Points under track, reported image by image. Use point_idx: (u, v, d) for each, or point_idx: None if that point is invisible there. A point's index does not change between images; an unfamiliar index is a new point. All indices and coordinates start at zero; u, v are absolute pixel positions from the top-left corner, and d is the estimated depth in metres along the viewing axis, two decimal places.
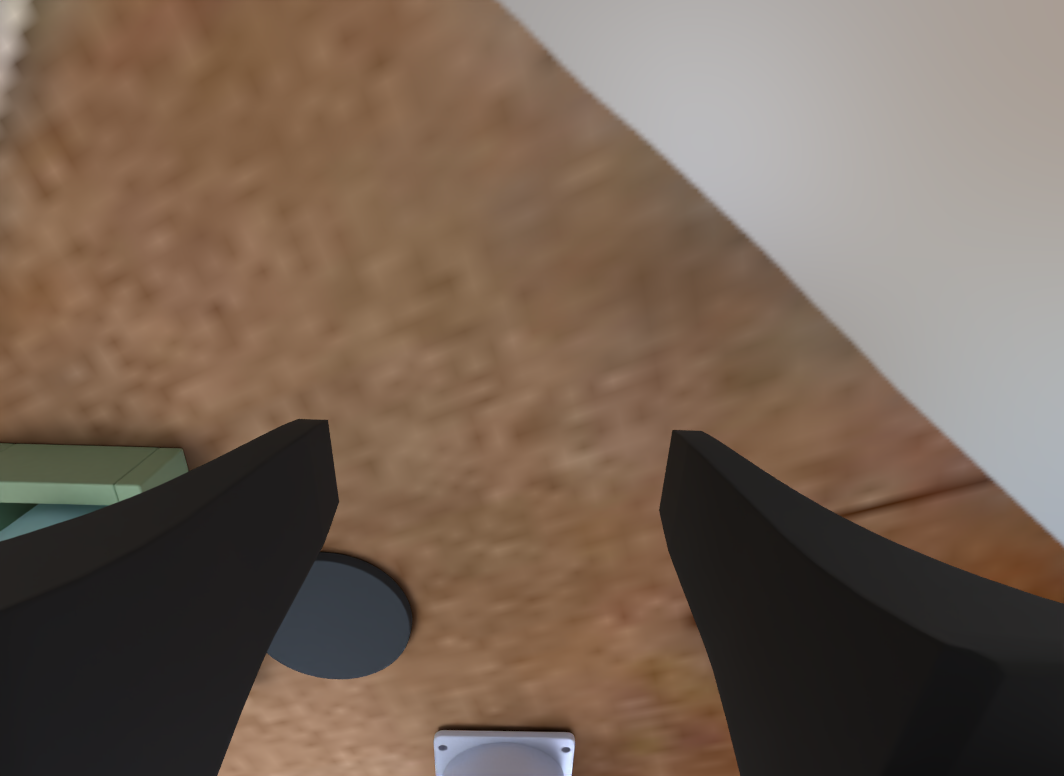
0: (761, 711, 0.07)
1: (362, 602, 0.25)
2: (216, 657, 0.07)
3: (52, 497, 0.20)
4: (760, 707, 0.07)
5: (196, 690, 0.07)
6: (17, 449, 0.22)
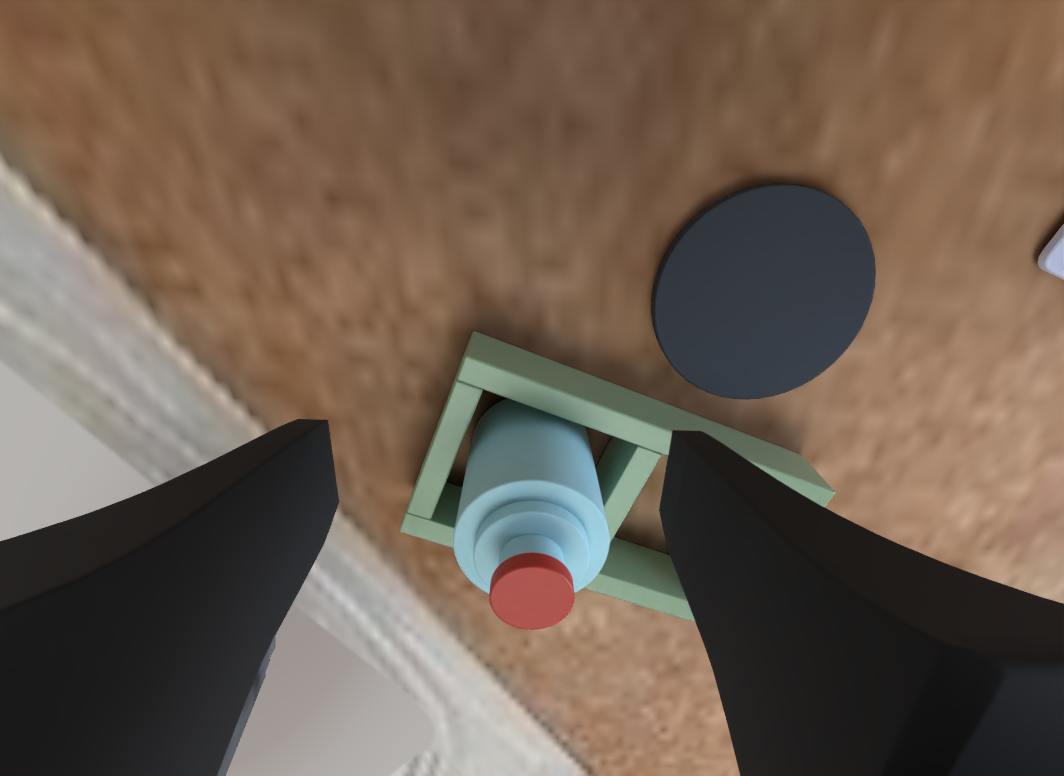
0: (761, 711, 0.07)
1: (756, 238, 0.18)
2: (216, 657, 0.07)
3: (452, 444, 0.19)
4: (760, 707, 0.07)
5: (196, 690, 0.07)
6: None
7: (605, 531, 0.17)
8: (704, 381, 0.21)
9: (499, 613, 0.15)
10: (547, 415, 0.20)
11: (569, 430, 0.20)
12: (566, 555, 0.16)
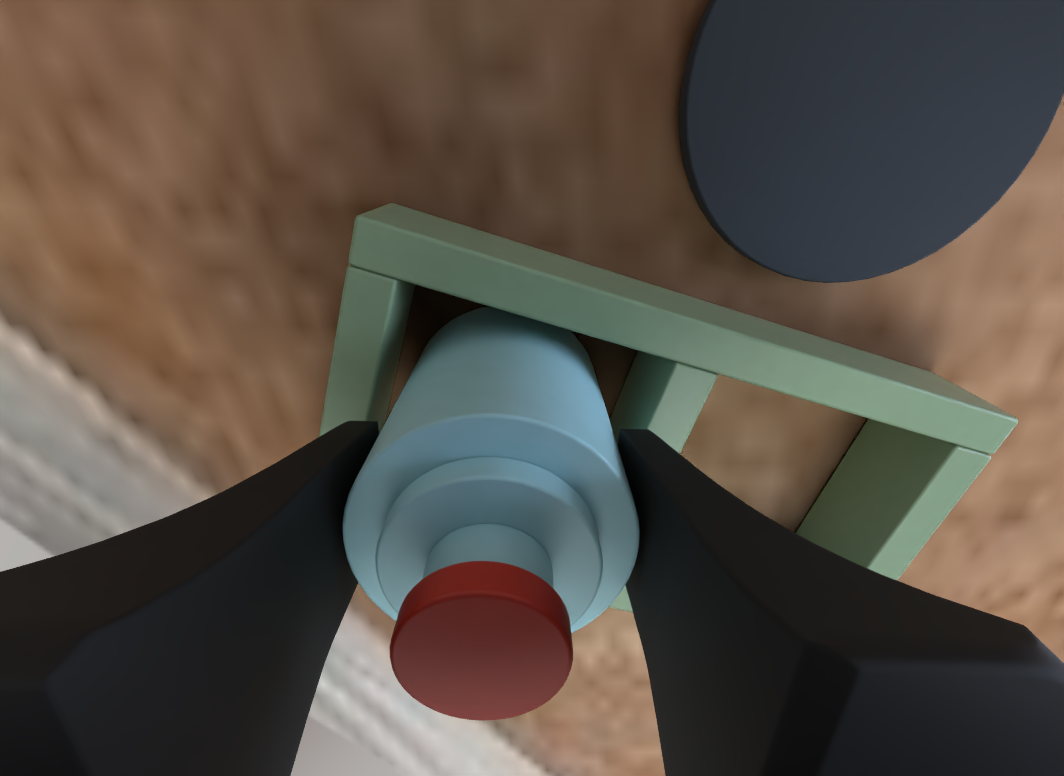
0: (680, 710, 0.07)
1: None
2: (290, 658, 0.07)
3: (360, 383, 0.11)
4: (679, 705, 0.07)
5: (275, 691, 0.07)
6: None
7: (629, 509, 0.09)
8: (776, 255, 0.12)
9: (418, 693, 0.07)
10: (518, 327, 0.12)
11: (557, 347, 0.12)
12: (556, 560, 0.08)
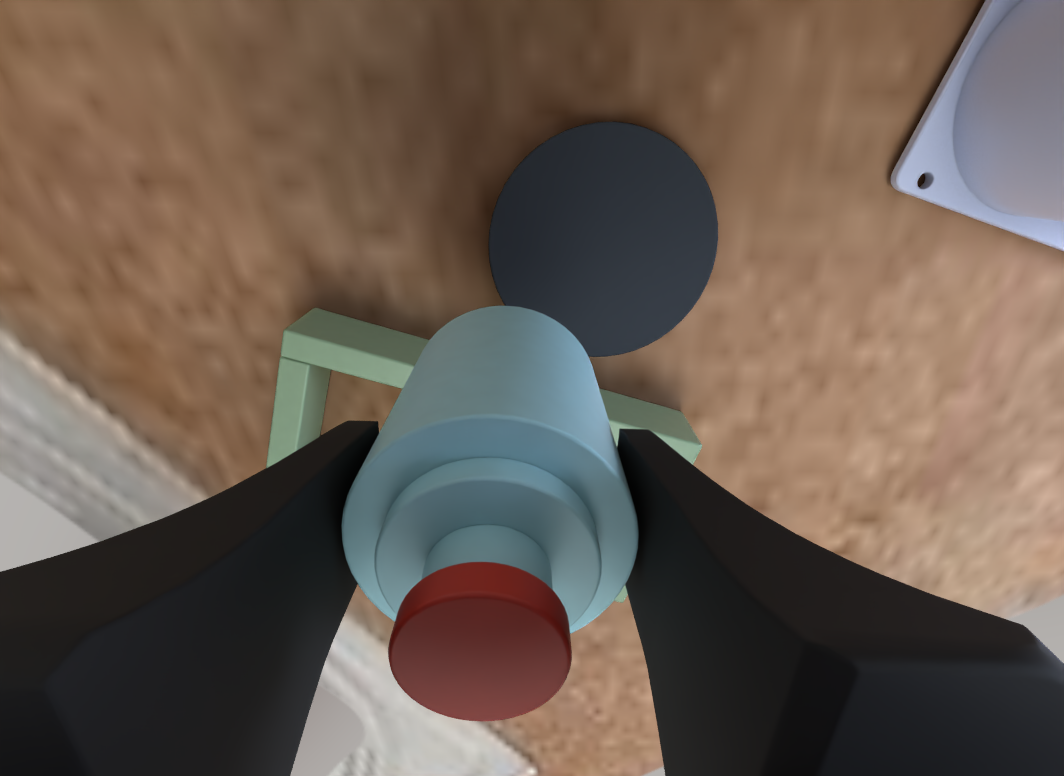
0: (680, 710, 0.07)
1: (581, 183, 0.17)
2: (290, 658, 0.07)
3: (291, 424, 0.19)
4: (679, 705, 0.07)
5: (275, 691, 0.07)
6: None
7: (628, 509, 0.09)
8: None
9: (417, 694, 0.07)
10: (518, 327, 0.12)
11: (556, 347, 0.12)
12: (555, 561, 0.08)
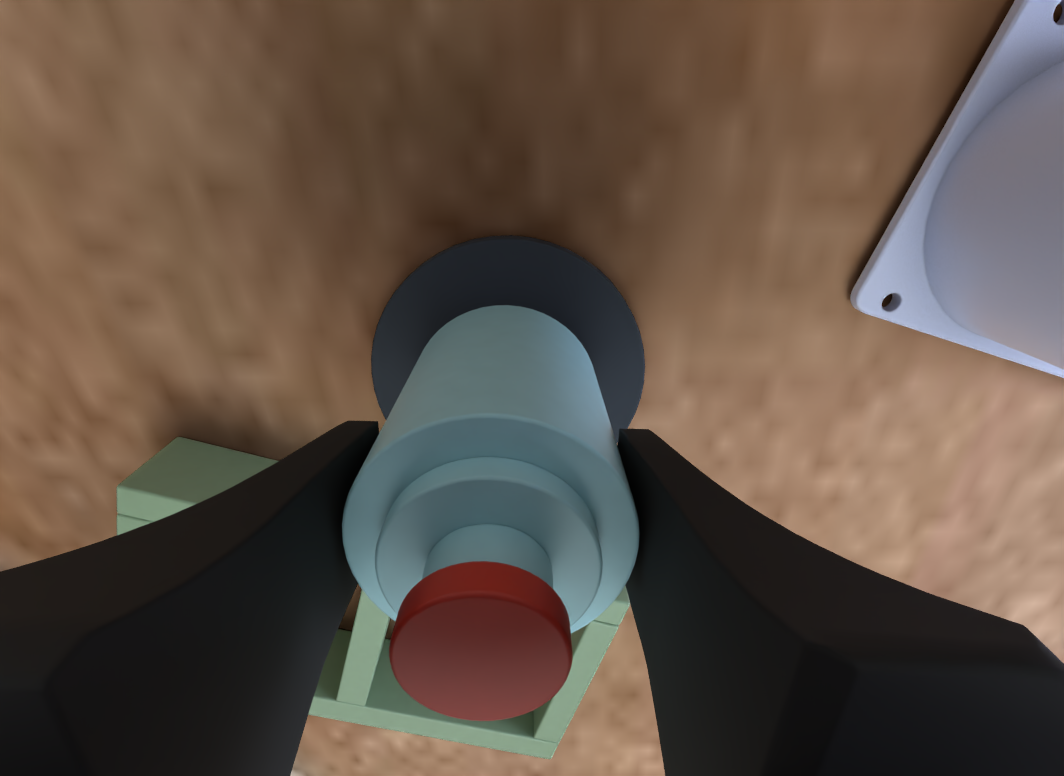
0: (680, 710, 0.07)
1: (476, 306, 0.15)
2: (290, 658, 0.07)
3: None
4: (679, 706, 0.07)
5: (274, 691, 0.07)
6: None
7: (629, 509, 0.09)
8: None
9: (417, 694, 0.07)
10: (518, 327, 0.12)
11: (557, 347, 0.12)
12: (556, 561, 0.08)
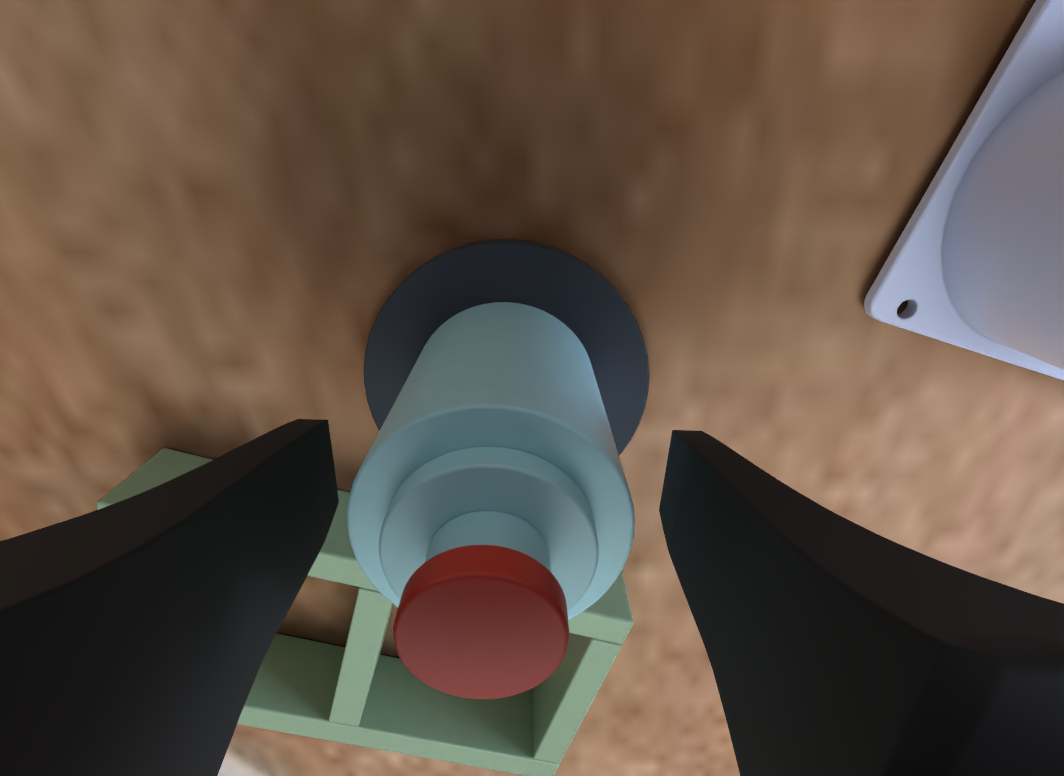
0: (761, 711, 0.07)
1: None
2: (216, 657, 0.07)
3: None
4: (760, 706, 0.07)
5: (196, 690, 0.07)
6: None
7: (624, 497, 0.09)
8: None
9: (420, 672, 0.07)
10: (517, 323, 0.12)
11: (555, 343, 0.12)
12: (553, 547, 0.09)
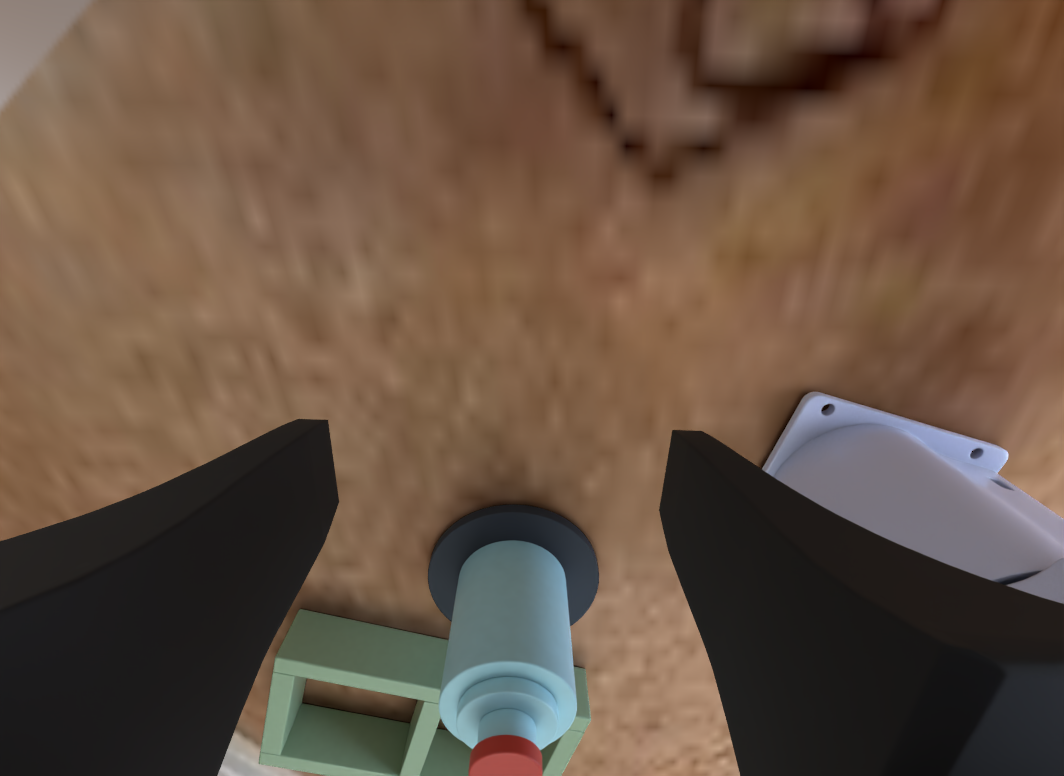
0: (761, 711, 0.07)
1: None
2: (216, 657, 0.07)
3: (281, 709, 0.25)
4: (759, 707, 0.07)
5: (196, 690, 0.07)
6: None
7: (571, 695, 0.19)
8: None
9: None
10: (520, 569, 0.22)
11: (540, 583, 0.22)
12: (537, 721, 0.18)
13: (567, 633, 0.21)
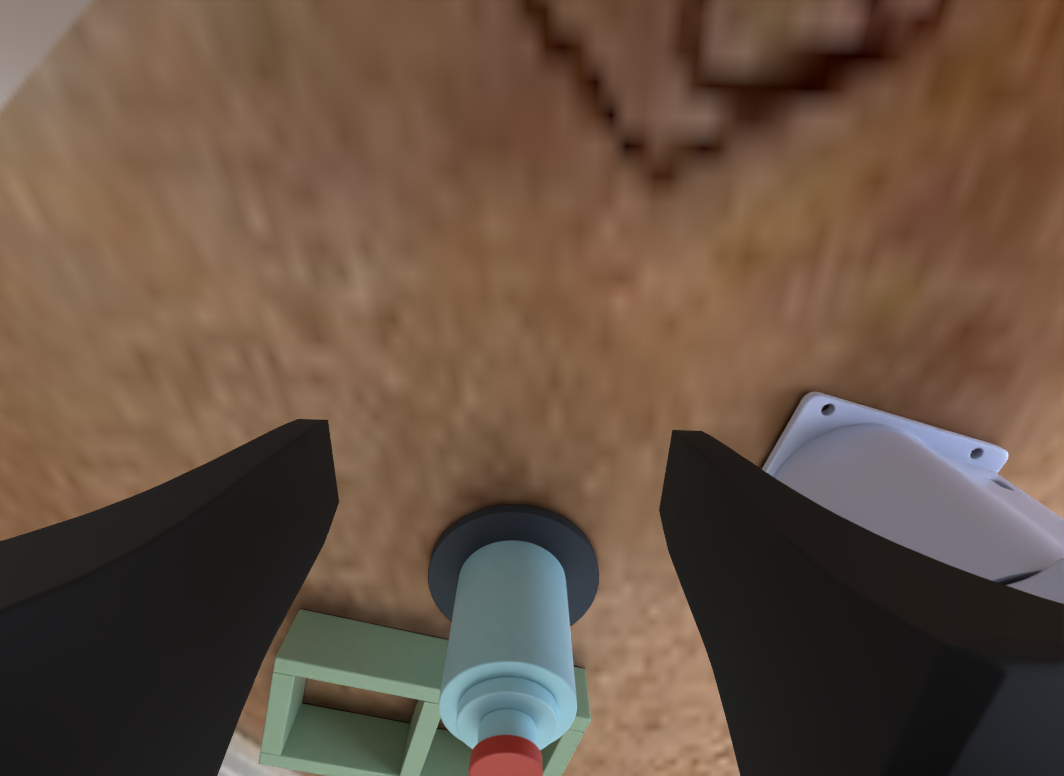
0: (761, 711, 0.07)
1: None
2: (216, 657, 0.07)
3: (281, 709, 0.25)
4: (759, 706, 0.07)
5: (196, 690, 0.07)
6: None
7: (571, 695, 0.19)
8: None
9: None
10: (520, 569, 0.22)
11: (540, 583, 0.22)
12: (537, 721, 0.18)
13: (567, 633, 0.21)
